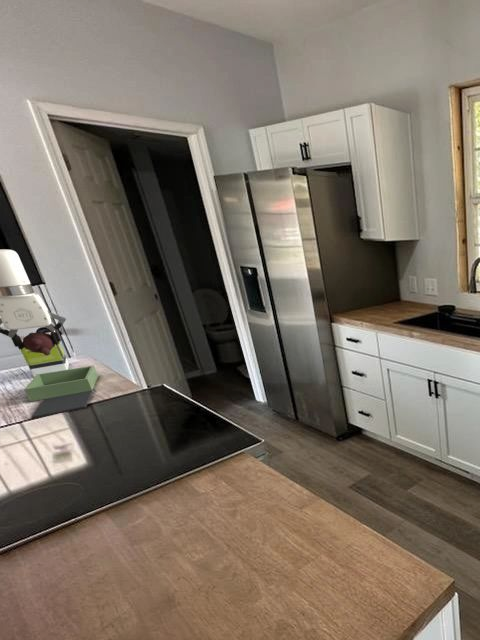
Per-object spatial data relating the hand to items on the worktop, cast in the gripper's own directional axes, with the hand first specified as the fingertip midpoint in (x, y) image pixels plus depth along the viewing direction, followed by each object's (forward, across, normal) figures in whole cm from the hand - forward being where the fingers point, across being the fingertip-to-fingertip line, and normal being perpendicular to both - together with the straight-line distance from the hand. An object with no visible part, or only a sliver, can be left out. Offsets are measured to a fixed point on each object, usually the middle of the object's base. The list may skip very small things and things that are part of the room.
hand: (39, 345), depth 134 cm
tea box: (+20, -9, +49) cm, 54 cm away
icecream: (+2, 0, 0) cm, 2 cm away
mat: (+20, 0, -4) cm, 20 cm away
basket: (+20, -1, +17) cm, 26 cm away
